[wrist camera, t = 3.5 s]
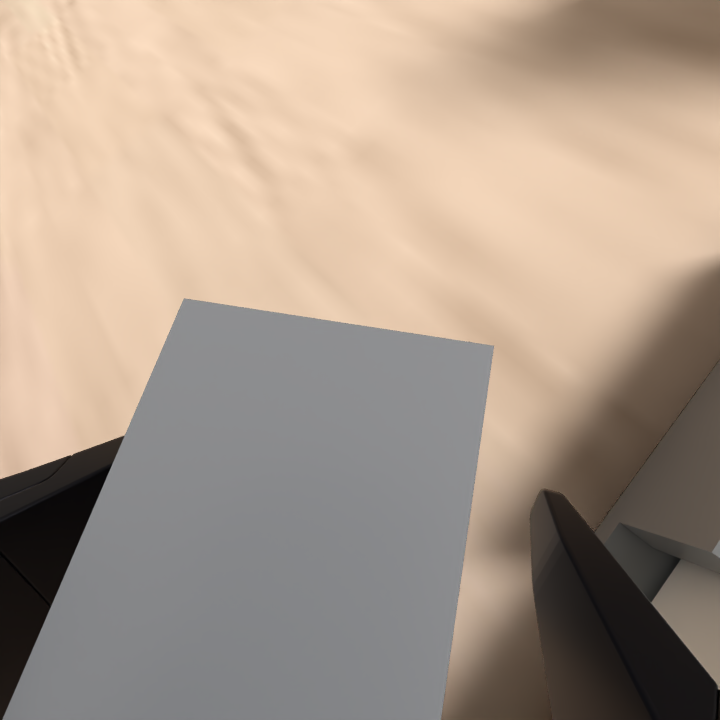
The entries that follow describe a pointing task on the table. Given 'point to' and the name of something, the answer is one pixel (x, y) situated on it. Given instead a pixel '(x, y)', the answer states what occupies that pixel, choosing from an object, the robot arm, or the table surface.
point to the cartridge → (273, 530)
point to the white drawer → (694, 612)
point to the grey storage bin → (672, 499)
